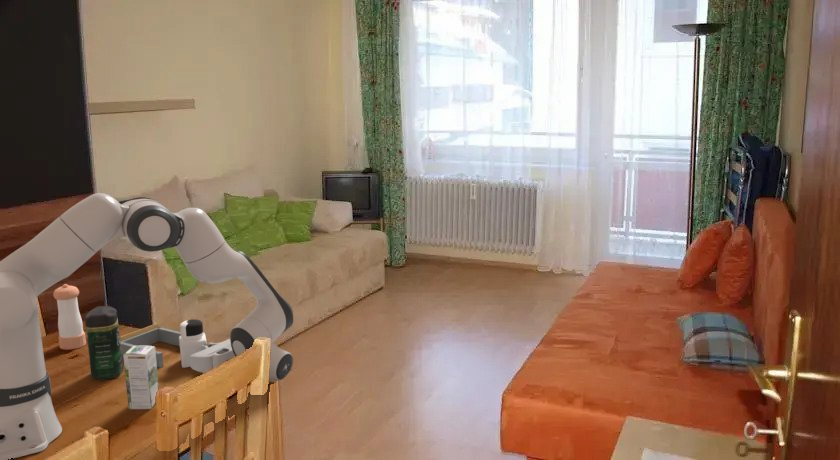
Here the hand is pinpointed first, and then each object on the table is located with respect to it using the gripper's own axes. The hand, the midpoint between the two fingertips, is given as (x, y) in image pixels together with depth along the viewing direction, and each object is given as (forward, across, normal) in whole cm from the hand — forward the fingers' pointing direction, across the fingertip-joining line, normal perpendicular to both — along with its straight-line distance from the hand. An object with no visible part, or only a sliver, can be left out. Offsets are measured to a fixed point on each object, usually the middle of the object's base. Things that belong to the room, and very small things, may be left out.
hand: (205, 346), depth 206 cm
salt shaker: (+48, +9, +6) cm, 49 cm away
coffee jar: (+19, +18, +6) cm, 27 cm away
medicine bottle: (+5, 0, +6) cm, 8 cm away
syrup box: (-6, +25, +6) cm, 26 cm away
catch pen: (+20, 0, +5) cm, 20 cm away
